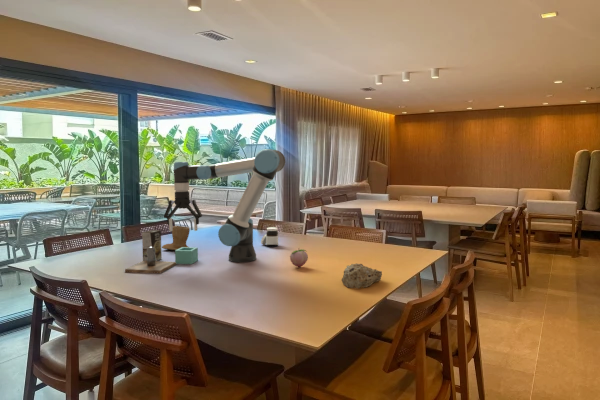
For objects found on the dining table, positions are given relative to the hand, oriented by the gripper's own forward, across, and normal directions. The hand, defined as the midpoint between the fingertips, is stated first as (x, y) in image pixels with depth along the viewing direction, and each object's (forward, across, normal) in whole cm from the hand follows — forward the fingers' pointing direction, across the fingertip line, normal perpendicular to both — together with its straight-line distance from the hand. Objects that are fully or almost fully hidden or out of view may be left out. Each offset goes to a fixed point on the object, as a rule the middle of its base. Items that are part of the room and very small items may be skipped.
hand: (183, 230), depth 225 cm
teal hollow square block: (+17, -1, 0) cm, 17 cm away
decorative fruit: (+18, -62, +7) cm, 65 cm away
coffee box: (+17, +19, -3) cm, 25 cm away
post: (+17, +12, +15) cm, 25 cm away
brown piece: (+17, +15, -31) cm, 39 cm away
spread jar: (+18, -39, -49) cm, 65 cm away
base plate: (+17, +12, +15) cm, 25 cm away
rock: (+19, -92, +34) cm, 100 cm away
